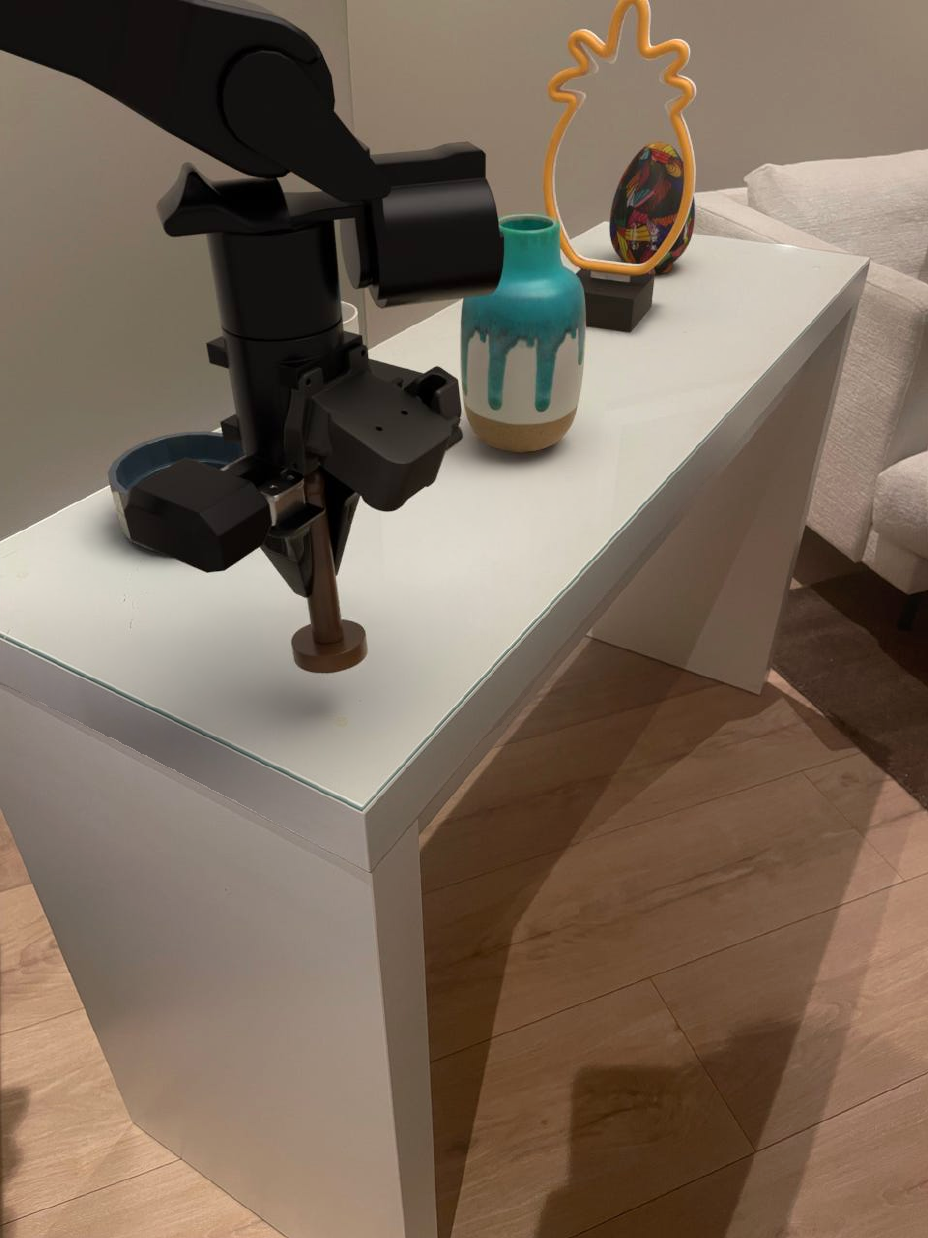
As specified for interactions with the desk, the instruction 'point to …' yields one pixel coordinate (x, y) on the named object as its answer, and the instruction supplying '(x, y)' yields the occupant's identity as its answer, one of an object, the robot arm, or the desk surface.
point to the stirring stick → (325, 602)
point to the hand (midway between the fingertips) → (315, 585)
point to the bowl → (166, 461)
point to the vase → (524, 342)
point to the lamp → (622, 287)
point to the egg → (650, 208)
